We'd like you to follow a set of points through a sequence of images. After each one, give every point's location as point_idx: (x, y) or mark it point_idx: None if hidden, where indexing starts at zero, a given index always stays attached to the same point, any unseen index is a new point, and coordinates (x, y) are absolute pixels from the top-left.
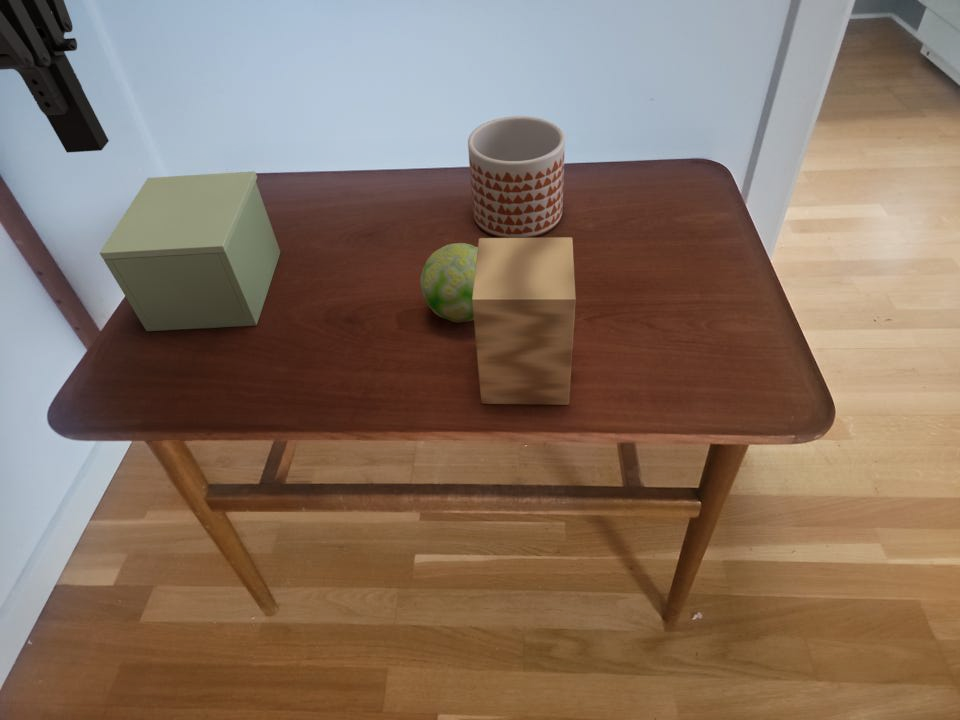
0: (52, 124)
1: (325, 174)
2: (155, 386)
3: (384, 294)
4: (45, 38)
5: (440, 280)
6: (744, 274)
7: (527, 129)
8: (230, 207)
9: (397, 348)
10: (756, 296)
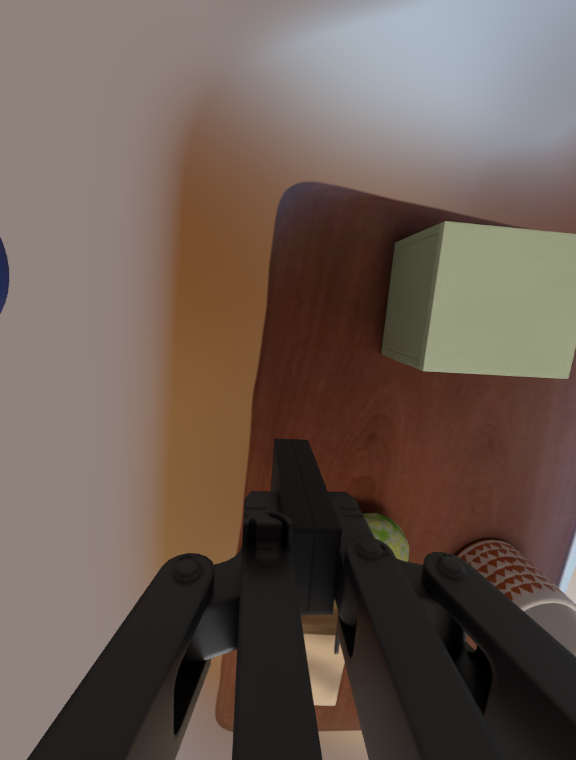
0: (277, 463)
1: None
2: (317, 272)
3: (399, 464)
4: (351, 621)
5: None
6: None
7: (566, 641)
8: (497, 364)
9: (329, 478)
10: (339, 719)
